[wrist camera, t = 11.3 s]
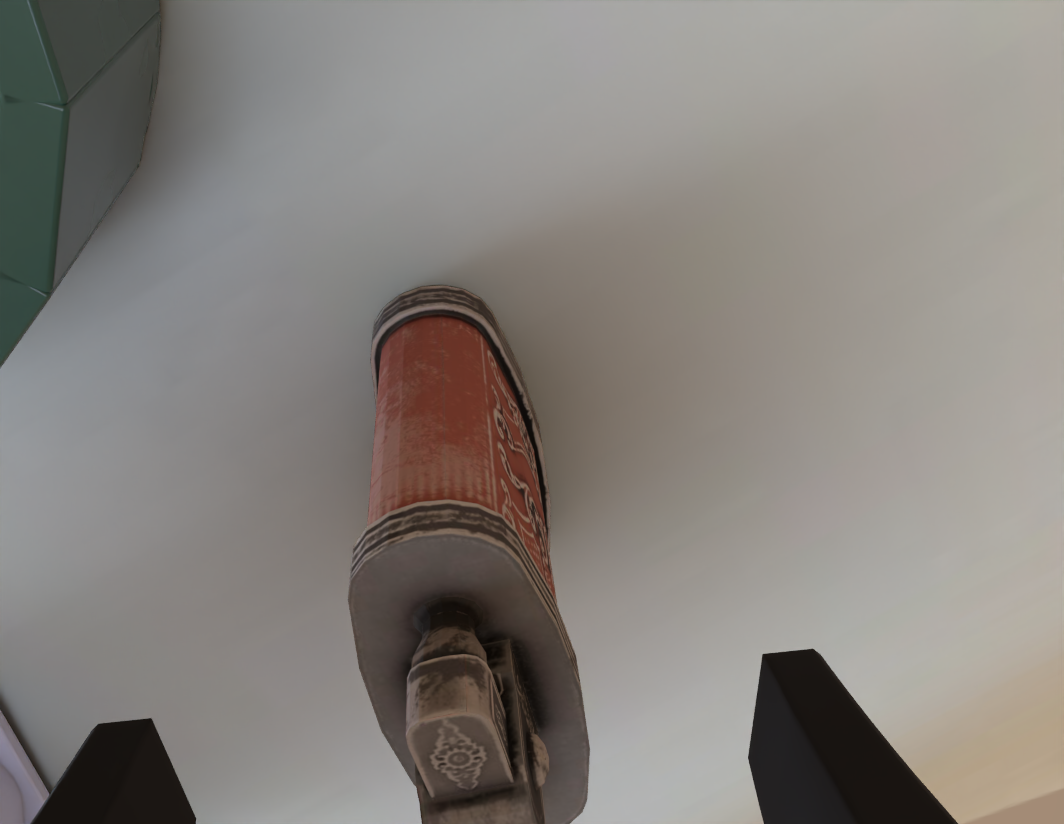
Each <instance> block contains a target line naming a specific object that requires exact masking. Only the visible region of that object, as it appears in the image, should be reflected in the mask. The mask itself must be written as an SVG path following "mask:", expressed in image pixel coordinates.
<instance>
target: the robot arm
mask: <svg viewBox="0 0 1064 824" xmlns="http://www.w3.org/2000/svg"><path fill="white" fill-rule="evenodd" d="M748 759H749V764H750V768H751V772H752V776H753V781H754V785H755V789H756V793H757V797H758V802H759V806H760V810H761V814H762V818H763V821H764V824H958V823H957V822H956V821H955V820H954V818H953V817H952V816H951V815H950V814H949V813H948V812H947V810H946V809H945V808H944V807H943V806H942V805H941V804H940V802H939V801H938V800H937V799H936V798H935V797H934V796H933V794H932V793H931V792H930V791H929V790H928V789H927V787H926V786H925V785H924V784H923V783H922V782H921V781H920V779H919V778H918V777H917V776H916V775H915V774H914V773H913V771H912V770H911V769H910V768H909V767H908V765H907V764H906V763H905V762H904V761H903V759H902V758H901V757H900V756H899V755H898V753H897V752H896V751H895V750H894V749H893V747H892V746H891V745H890V744H889V742H888V741H887V740H886V739H885V737H884V736H883V735H882V734H881V733H880V731H879V730H878V729H877V728H876V726H875V725H874V724H873V723H872V721H871V720H870V719H869V718H868V716H867V715H866V714H865V713H864V711H863V710H862V709H861V707H860V706H859V705H858V704H857V702H856V701H855V700H854V698H853V697H852V696H851V695H850V693H849V692H848V691H847V689H846V688H845V687H844V685H843V684H842V683H841V681H840V680H839V679H838V677H837V676H836V675H835V674H834V672H833V671H832V670H831V668H830V667H829V665H828V664H827V663H826V661H825V660H824V659H823V657H822V656H821V655H820V654H819V653H818V652H816V651H815V650H814V649H807V650H797V651H788V652H778V653H769V654H763V656H762V663H761V670H760V677H759V684H758V692H757V699H756V706H755V713H754V720H753V727H752V734H751V741H750V748H749V755H748ZM0 824H196V817H195V815H194V813H193V811H192V808H191V806H190V804H189V802H188V799H187V797H186V795H185V793H184V790H183V788H182V786H181V784H180V781H179V779H178V777H177V775H176V772H175V770H174V768H173V766H172V763H171V761H170V759H169V757H168V754H167V752H166V750H165V748H164V745H163V743H162V741H161V739H160V737H159V734H158V732H157V730H156V728H155V725H154V723H153V721H152V719H151V718H149V719H140V720H130V721H121V722H111V723H102V724H98V725H97V726H96V727H95V728H94V729H93V730H92V731H91V732H90V734H89V735H88V737H87V738H86V740H85V741H84V743H83V745H82V746H81V748H80V749H79V751H78V752H77V754H76V755H75V757H74V758H73V760H72V761H71V763H70V764H69V766H68V767H67V769H66V771H65V772H64V774H63V775H62V777H61V778H60V780H59V781H58V783H57V784H56V786H55V787H54V789H53V790H52V792H51V793H50V794H49V792H48V791H47V789H46V787H45V785H44V784H43V782H42V780H41V779H40V777H39V775H38V773H37V772H36V770H35V768H34V767H33V765H32V763H31V761H30V760H29V758H28V756H27V755H26V753H25V751H24V749H23V748H22V746H21V744H20V743H19V741H18V739H17V737H16V736H15V734H14V732H13V730H12V729H11V727H10V725H9V724H8V722H7V720H6V718H5V717H4V715H3V713H2V712H1V710H0Z"/></svg>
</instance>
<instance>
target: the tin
mask: <svg viewBox="0 0 1064 824" xmlns="http://www.w3.org/2000/svg"><path fill="white" fill-rule="evenodd" d="M160 19H161V16H160V4H159V0H0V368H1V366H2V365H3V364H4V362H5V361H6V359H7V358H8V357H9V355H10V354H11V352H12V351H13V350H14V348H15V347H16V345H17V344H18V342H19V341H20V340H21V338H22V337H23V335H24V334H25V333H26V331H27V330H28V328H29V327H30V326H31V324H32V323H33V321H34V320H35V319H36V317H37V316H38V314H39V313H40V311H41V310H42V309H43V307H44V306H45V304H46V303H47V302H48V300H49V299H50V297H51V296H52V294H53V293H54V291H55V290H56V288H57V287H58V286H59V284H60V283H61V281H62V280H63V278H64V277H65V275H66V274H67V272H68V271H69V269H70V268H71V266H72V265H73V263H74V262H75V260H76V259H77V257H78V256H79V254H80V253H81V251H82V250H83V248H84V247H85V245H86V244H87V242H88V241H89V239H90V238H91V236H92V235H93V234H94V232H95V231H96V229H97V228H98V226H99V225H100V223H101V222H102V220H103V219H104V217H105V216H106V214H107V213H108V211H109V210H110V208H111V207H112V205H113V204H114V202H115V201H116V199H117V198H118V196H119V195H120V193H121V192H122V190H123V189H124V187H125V186H126V184H127V183H128V182H129V180H130V179H131V177H132V176H133V174H134V173H135V171H136V170H137V168H138V167H139V162H140V161H141V155H142V148H143V141H144V136H145V133H146V131H147V128H148V123H149V119H150V114H151V109H152V105H153V100H154V96H155V91H156V87H157V81H158V67H159V53H160V39H161V22H160Z"/></svg>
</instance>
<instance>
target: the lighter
mask: <svg viewBox="0 0 1064 824" xmlns="http://www.w3.org/2000/svg"><path fill="white" fill-rule="evenodd" d="M370 360H371V369H372V377H373V385H374V394H375V402H376V421H375V434H374V447H373V459H372V472H371V485H370V498H369V511H368V524H367V527H366V529H365V530H364V532H363V533H362V535H361V536H360V537H359V539H358V540H357V542H356V543H355V544H354V548H353V555H352V562H351V573H350V583H349V594H348V602H349V609H350V615H351V621H352V627H353V633H354V639H355V645H356V651H357V657H358V663H359V669H360V672H361V674H362V677H363V680H364V683H365V686H366V689H367V692H368V694H369V697H370V700H371V703H372V706H373V709H374V711H375V714H376V717H377V720H378V723H379V726H380V728H381V731H382V733H383V734H384V736H385V738H386V739H387V741H388V743H389V744H390V746H391V748H392V749H393V751H394V753H395V754H396V756H397V757H398V759H399V761H400V762H401V764H402V766H403V767H404V769H405V771H406V772H407V774H408V776H409V777H410V779H411V781H412V782H413V784H414V785H415V786H416V788H417V793H418V798H419V802H420V811H421V819H422V824H570V823H571V822H572V821H573V820H574V819H575V818H577V817H578V816H579V815H580V814H581V813H582V812H583V809H584V807H585V804H586V802H587V793H588V774H589V755H590V747H589V740H588V733H587V726H586V719H585V712H584V705H583V698H582V692H581V685H580V679H579V673H578V666H577V660H576V655H575V652H574V650H573V647H572V644H571V642H570V639H569V636H568V633H567V631H566V628H565V625H564V623H563V620H562V617H561V615H560V612H559V609H558V607H557V602H556V595H555V588H554V581H553V574H552V568H551V561H550V554H549V552H550V495H549V488H548V482H547V475H546V468H545V461H544V454H543V448H542V441H541V435H540V429H539V424H538V421H537V418H536V415H535V412H534V409H533V406H532V403H531V400H530V397H529V394H528V391H527V388H526V385H525V382H524V379H523V376H522V373H521V370H520V367H519V365H518V363H517V361H516V359H515V357H514V355H513V353H512V351H511V349H510V347H509V345H508V343H507V341H506V339H505V337H504V335H503V333H502V331H501V329H500V327H499V325H498V323H497V321H496V319H495V317H494V315H493V313H492V311H491V310H490V309H489V308H488V306H487V305H486V304H485V303H484V302H483V300H482V299H480V298H479V297H477V296H475V295H473V294H471V293H470V292H468V291H466V290H464V289H459V288H454V287H449V286H444V285H440V286H427V287H419V288H417V289H414V290H411V291H409V292H406V293H403V294H400V295H399V296H398V297H396V298H395V299H394V300H393V301H391V302H390V303H389V304H387V305H386V306H385V307H384V308H383V310H382V311H381V313H380V314H379V316H378V318H377V319H376V321H375V323H374V330H373V338H372V349H371V359H370Z"/></svg>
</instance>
